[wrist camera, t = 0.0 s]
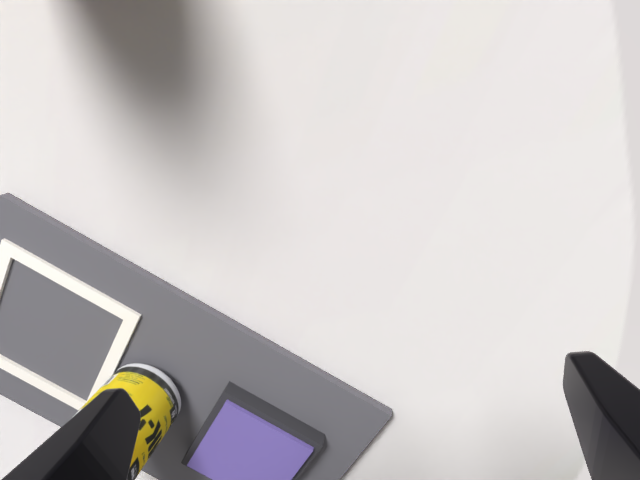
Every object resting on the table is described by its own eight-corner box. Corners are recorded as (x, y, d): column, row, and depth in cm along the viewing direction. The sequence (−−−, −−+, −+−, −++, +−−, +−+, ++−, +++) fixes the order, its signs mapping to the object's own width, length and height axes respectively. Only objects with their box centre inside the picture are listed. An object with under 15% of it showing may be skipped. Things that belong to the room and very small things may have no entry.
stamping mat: (286, 538, 33) (280, 565, 31) (-42, 362, 31) (-67, 379, 30) (391, 409, 28) (392, 431, 26) (8, 192, 26) (-19, 200, 25)
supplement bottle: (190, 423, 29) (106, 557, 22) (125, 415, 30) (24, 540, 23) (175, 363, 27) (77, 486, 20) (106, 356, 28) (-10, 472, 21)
